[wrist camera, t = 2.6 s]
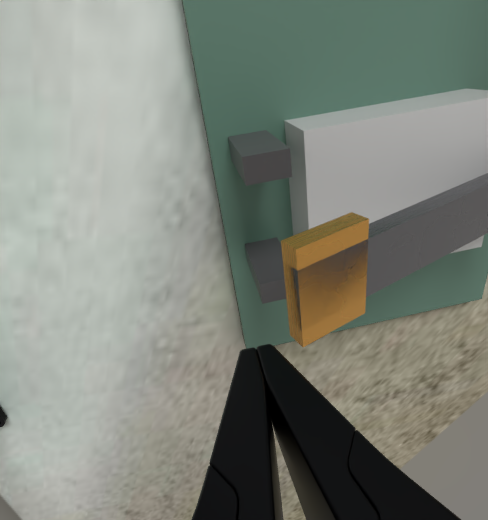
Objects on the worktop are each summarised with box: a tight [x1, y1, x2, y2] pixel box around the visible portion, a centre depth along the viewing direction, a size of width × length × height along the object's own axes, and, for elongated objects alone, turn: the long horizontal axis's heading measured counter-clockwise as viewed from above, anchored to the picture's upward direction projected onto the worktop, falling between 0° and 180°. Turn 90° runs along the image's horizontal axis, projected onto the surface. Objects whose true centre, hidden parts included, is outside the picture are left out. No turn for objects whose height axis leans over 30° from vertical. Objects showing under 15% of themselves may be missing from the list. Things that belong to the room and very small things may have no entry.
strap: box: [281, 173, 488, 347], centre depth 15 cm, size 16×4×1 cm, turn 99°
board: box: [182, 0, 488, 349], centre depth 19 cm, size 22×18×6 cm
